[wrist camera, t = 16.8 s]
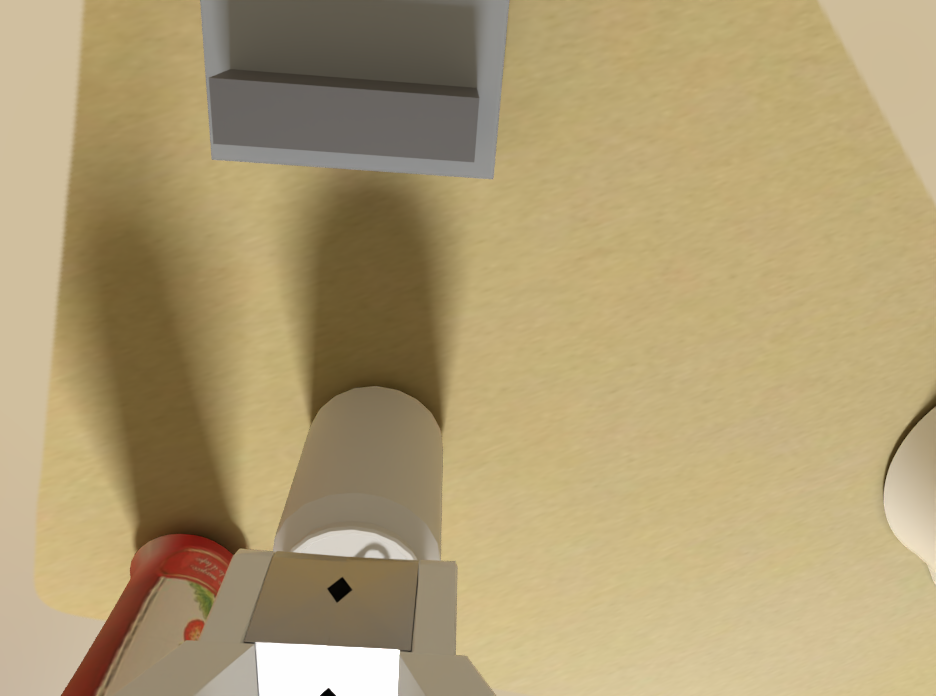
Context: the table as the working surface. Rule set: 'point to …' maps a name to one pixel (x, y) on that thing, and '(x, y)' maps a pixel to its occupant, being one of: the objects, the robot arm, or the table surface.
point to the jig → (356, 83)
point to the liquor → (153, 611)
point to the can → (367, 480)
